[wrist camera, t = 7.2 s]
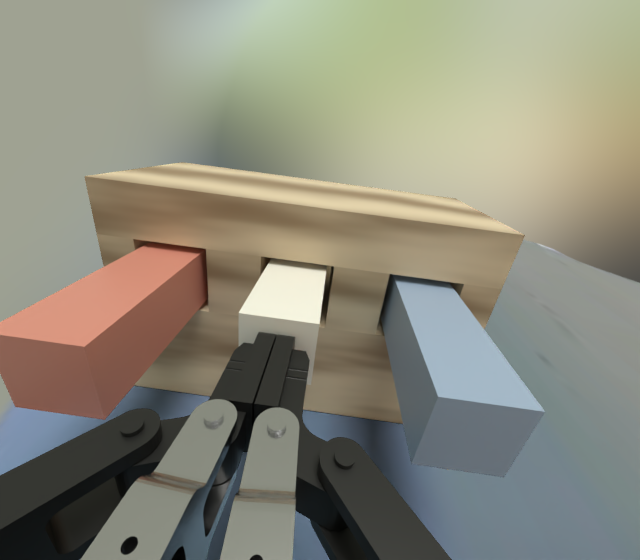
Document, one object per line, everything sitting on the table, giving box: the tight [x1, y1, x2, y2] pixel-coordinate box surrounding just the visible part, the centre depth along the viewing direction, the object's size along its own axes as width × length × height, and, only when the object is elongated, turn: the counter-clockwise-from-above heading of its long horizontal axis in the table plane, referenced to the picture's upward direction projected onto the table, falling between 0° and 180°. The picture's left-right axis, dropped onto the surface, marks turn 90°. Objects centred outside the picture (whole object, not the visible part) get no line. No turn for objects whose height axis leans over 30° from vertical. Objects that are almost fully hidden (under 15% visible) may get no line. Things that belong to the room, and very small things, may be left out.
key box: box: [85, 162, 525, 424], centre depth 22 cm, size 10×22×14 cm, turn 85°
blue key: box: [380, 274, 545, 477], centre depth 15 cm, size 11×3×3 cm, turn 175°
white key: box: [239, 258, 327, 385], centre depth 17 cm, size 11×3×3 cm, turn 175°
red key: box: [0, 242, 208, 420], centre depth 15 cm, size 11×3×3 cm, turn 175°
